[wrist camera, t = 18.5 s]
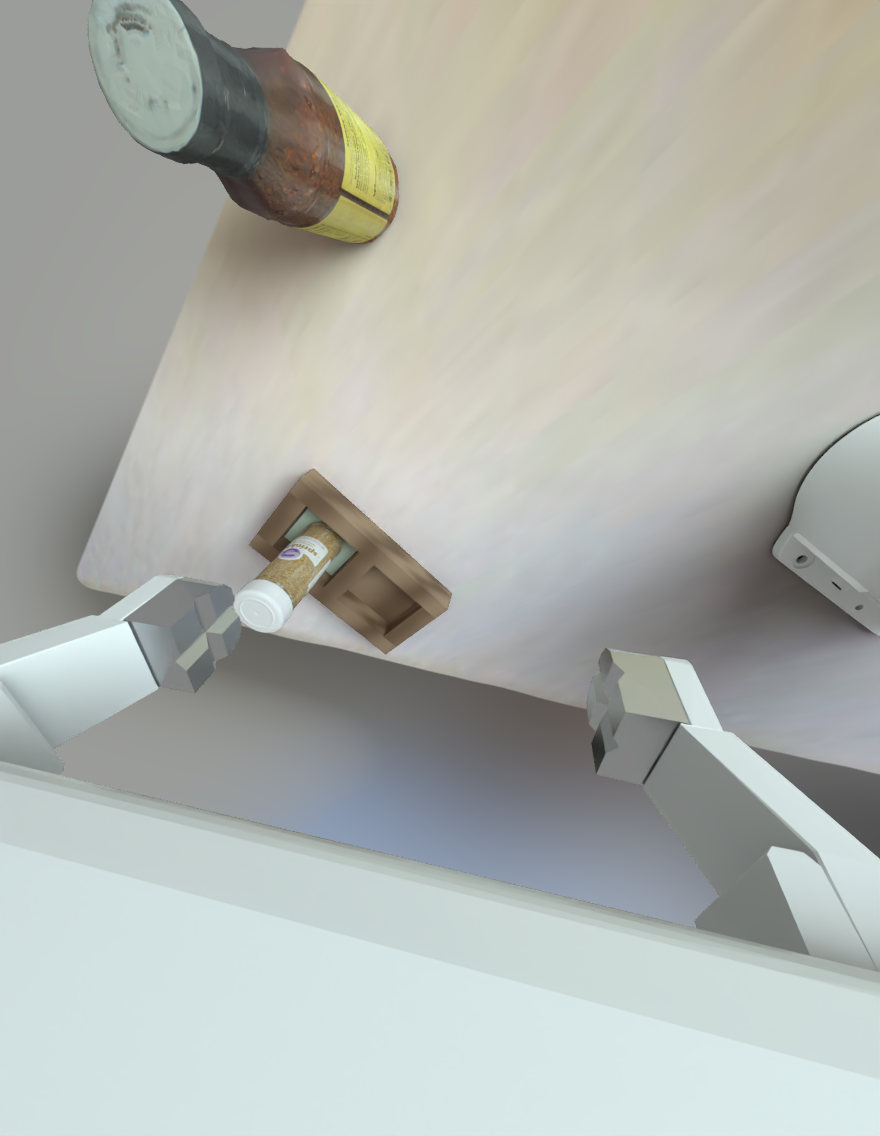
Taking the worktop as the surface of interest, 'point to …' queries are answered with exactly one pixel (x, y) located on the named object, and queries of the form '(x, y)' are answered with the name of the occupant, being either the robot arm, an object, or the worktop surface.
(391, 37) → the worktop surface
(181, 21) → the sauce bottle
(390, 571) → the spice caddy
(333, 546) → the sprinkles bottle
